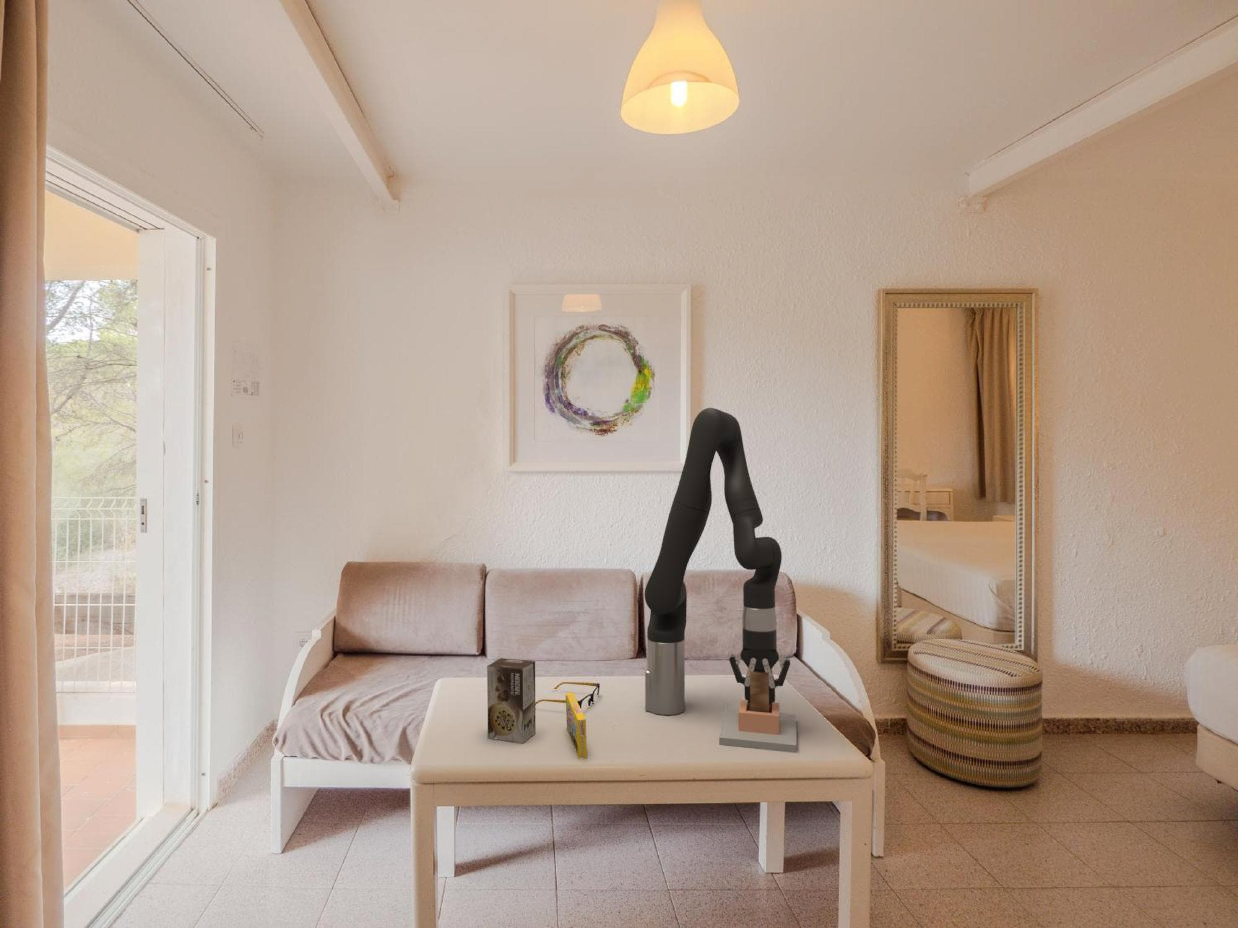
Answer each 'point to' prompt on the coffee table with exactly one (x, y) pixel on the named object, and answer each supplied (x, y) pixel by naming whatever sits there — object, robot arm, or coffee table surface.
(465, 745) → the coffee table surface
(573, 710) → the candy box
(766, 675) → the walnut peg
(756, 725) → the socket block
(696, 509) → the robot arm
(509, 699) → the coffee box
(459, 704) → the coffee table surface
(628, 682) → the coffee table surface
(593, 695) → the eyeglasses
